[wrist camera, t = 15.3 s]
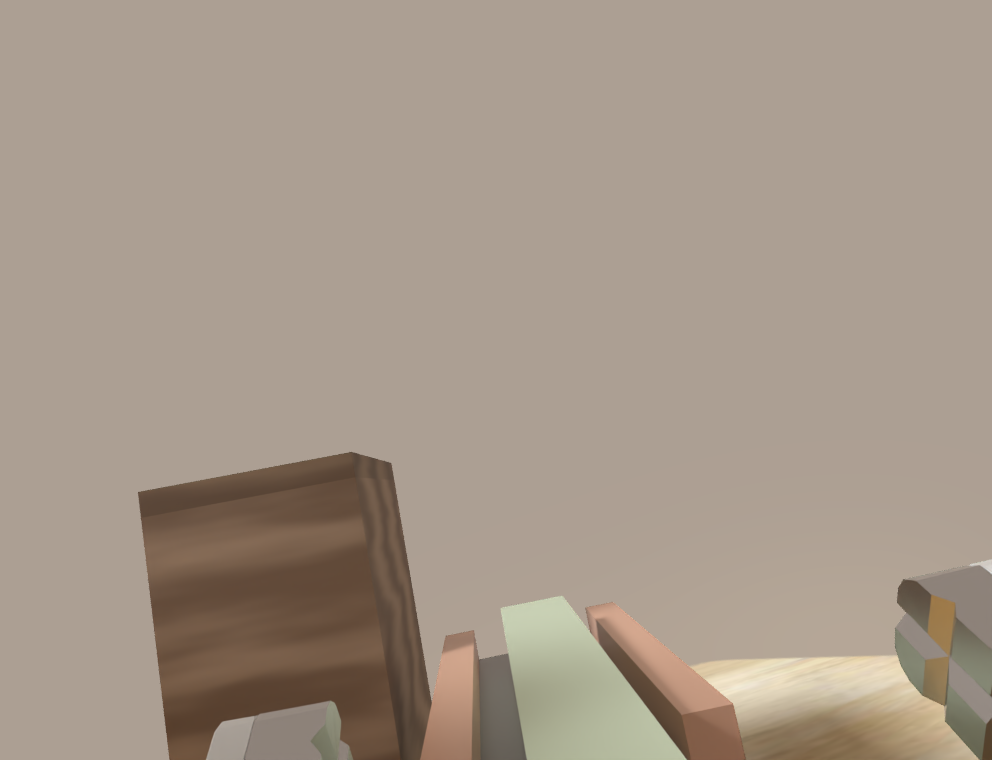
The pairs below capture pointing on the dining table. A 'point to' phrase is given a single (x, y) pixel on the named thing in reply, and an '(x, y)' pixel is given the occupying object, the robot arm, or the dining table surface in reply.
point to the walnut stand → (286, 604)
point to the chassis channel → (635, 652)
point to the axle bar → (575, 691)
